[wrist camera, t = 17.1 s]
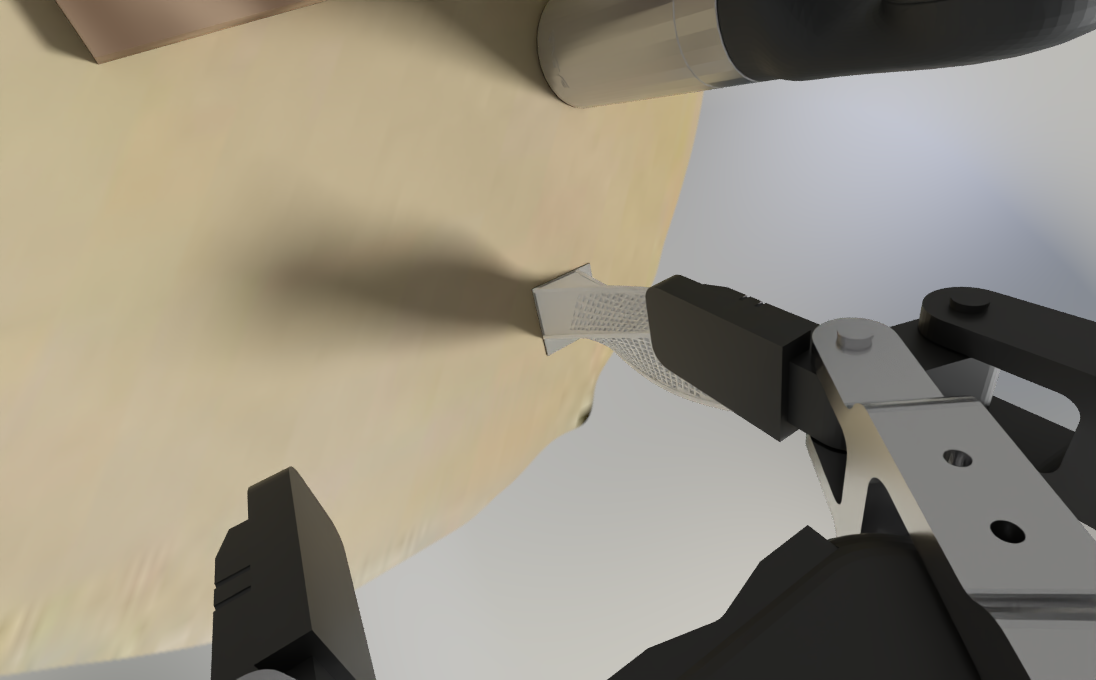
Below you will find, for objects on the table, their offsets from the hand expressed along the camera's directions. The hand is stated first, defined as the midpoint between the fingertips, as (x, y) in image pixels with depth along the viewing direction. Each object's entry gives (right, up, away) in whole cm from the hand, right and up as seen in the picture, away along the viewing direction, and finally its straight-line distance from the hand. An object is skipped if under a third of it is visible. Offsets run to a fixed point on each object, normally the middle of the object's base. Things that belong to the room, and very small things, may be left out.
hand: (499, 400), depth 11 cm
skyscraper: (+2, +5, +40) cm, 40 cm away
